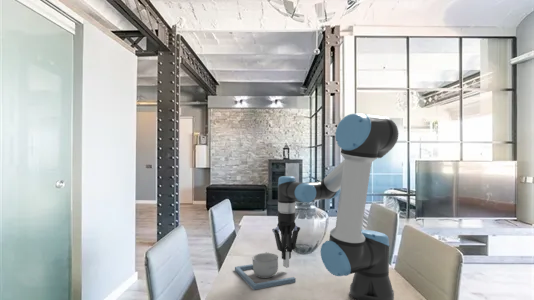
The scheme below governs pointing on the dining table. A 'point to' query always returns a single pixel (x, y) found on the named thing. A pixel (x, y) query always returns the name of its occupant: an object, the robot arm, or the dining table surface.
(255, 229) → the dining table surface
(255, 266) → the teacup
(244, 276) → the tray frame
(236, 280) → the dining table surface
